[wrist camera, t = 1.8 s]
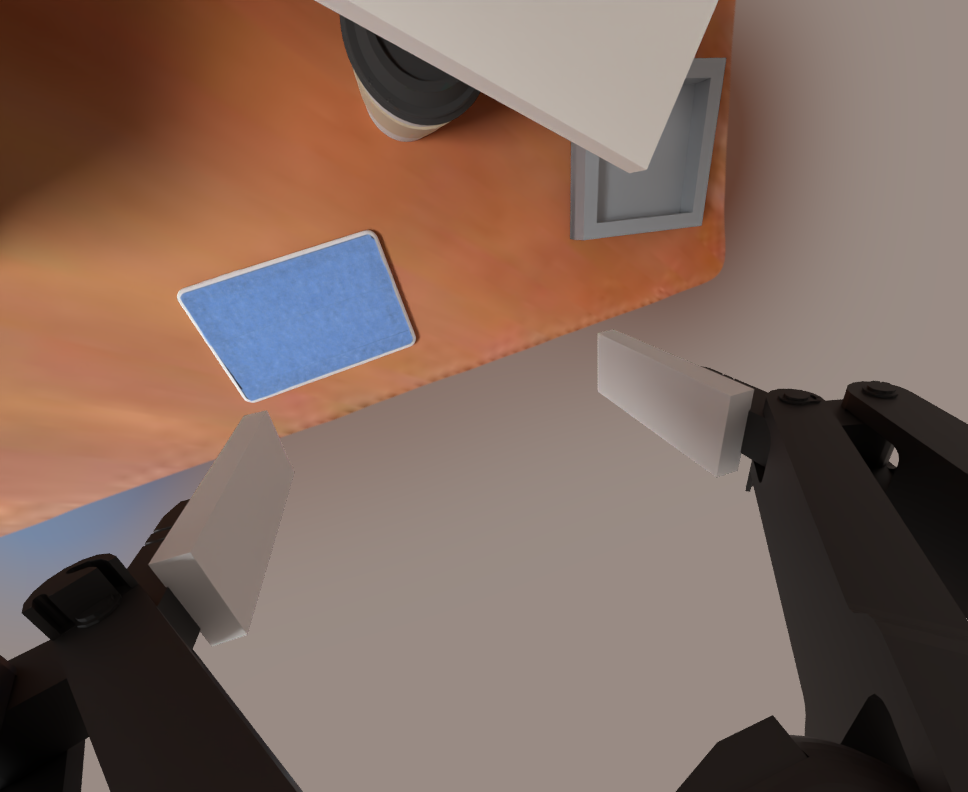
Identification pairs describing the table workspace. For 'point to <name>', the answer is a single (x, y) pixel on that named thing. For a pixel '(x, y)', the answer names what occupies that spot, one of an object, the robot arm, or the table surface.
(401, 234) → the table surface
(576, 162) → the tray
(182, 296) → the blue piece
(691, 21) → the cubby
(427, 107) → the coffee cup
